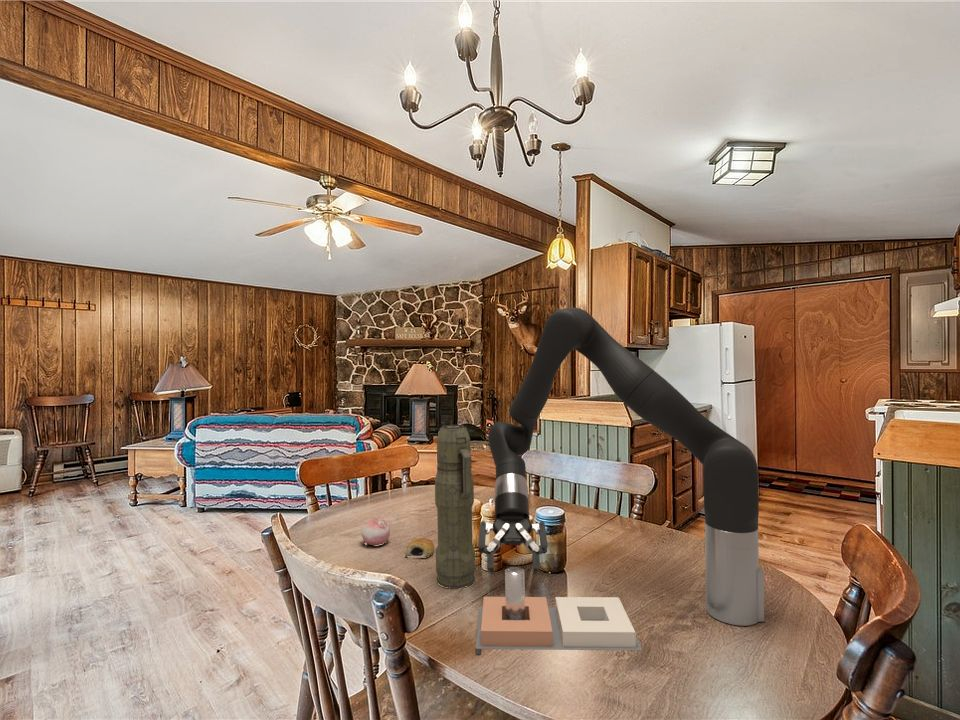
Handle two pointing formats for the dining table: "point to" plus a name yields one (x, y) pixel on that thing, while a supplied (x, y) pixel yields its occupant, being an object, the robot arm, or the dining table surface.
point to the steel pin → (515, 593)
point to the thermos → (454, 508)
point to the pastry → (420, 548)
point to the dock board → (557, 625)
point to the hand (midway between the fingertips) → (513, 572)
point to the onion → (376, 531)
